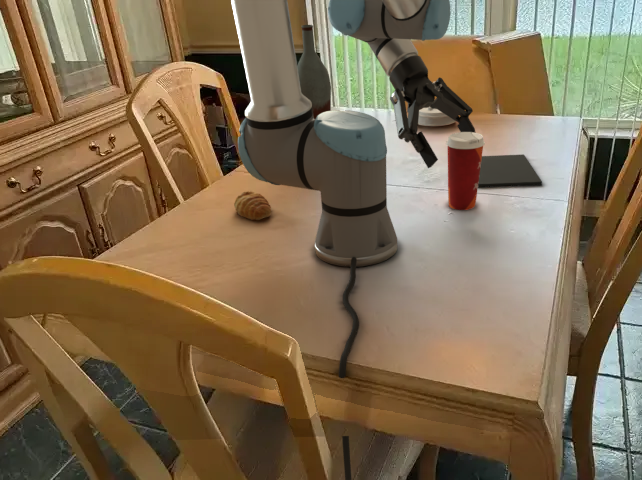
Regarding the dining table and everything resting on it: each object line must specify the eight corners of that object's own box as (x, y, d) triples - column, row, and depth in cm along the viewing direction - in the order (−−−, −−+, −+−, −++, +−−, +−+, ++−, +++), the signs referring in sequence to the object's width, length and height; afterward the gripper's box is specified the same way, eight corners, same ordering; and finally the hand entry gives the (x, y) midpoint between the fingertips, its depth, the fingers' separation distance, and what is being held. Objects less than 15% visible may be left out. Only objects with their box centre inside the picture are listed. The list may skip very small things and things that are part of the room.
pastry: (280, 216, 129) (278, 198, 127) (251, 225, 126) (248, 207, 124) (259, 204, 136) (257, 187, 133) (231, 212, 133) (228, 194, 130)
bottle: (295, 161, 159) (281, 28, 141) (306, 150, 166) (294, 23, 148) (330, 162, 157) (320, 28, 139) (339, 151, 164) (331, 22, 146)
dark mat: (541, 185, 137) (542, 181, 137) (478, 187, 138) (478, 184, 137) (523, 157, 153) (523, 154, 153) (467, 159, 154) (467, 156, 153)
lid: (434, 115, 189) (435, 98, 186) (465, 123, 181) (466, 104, 178) (404, 124, 183) (404, 106, 180) (435, 132, 175) (435, 113, 172)
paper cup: (487, 207, 128) (493, 138, 120) (454, 214, 126) (458, 144, 118) (468, 196, 134) (472, 128, 125) (436, 202, 132) (439, 134, 123)
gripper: (435, 69, 135) (483, 152, 135) (350, 90, 123) (403, 181, 122) (454, 44, 129) (505, 131, 129) (366, 63, 116) (423, 160, 116)
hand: (456, 156), depth 126 cm, fingers open, 13 cm apart
